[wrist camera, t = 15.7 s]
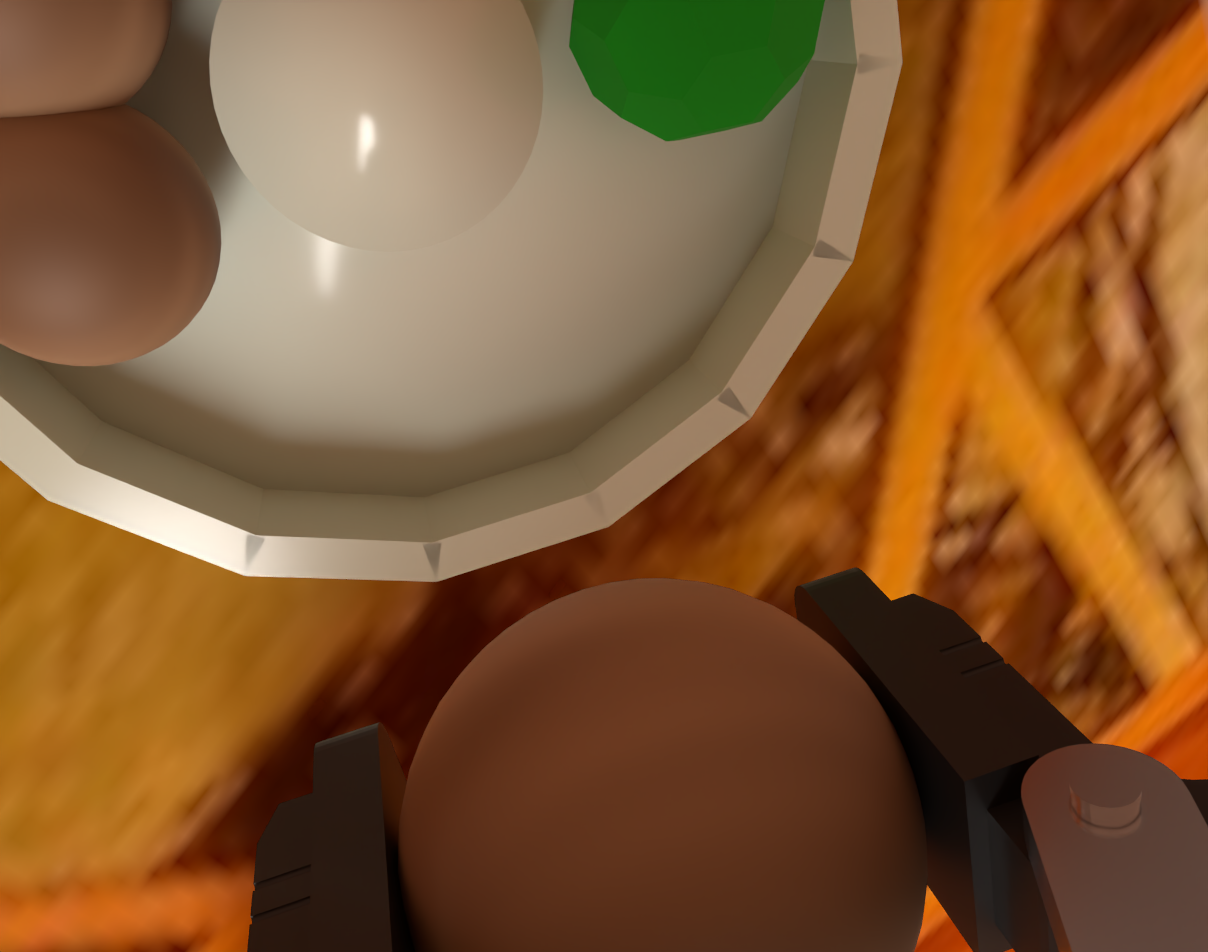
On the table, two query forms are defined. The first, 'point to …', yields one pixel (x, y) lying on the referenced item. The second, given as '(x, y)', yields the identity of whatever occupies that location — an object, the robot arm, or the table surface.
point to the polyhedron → (693, 59)
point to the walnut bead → (661, 788)
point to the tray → (451, 288)
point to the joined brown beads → (94, 188)
